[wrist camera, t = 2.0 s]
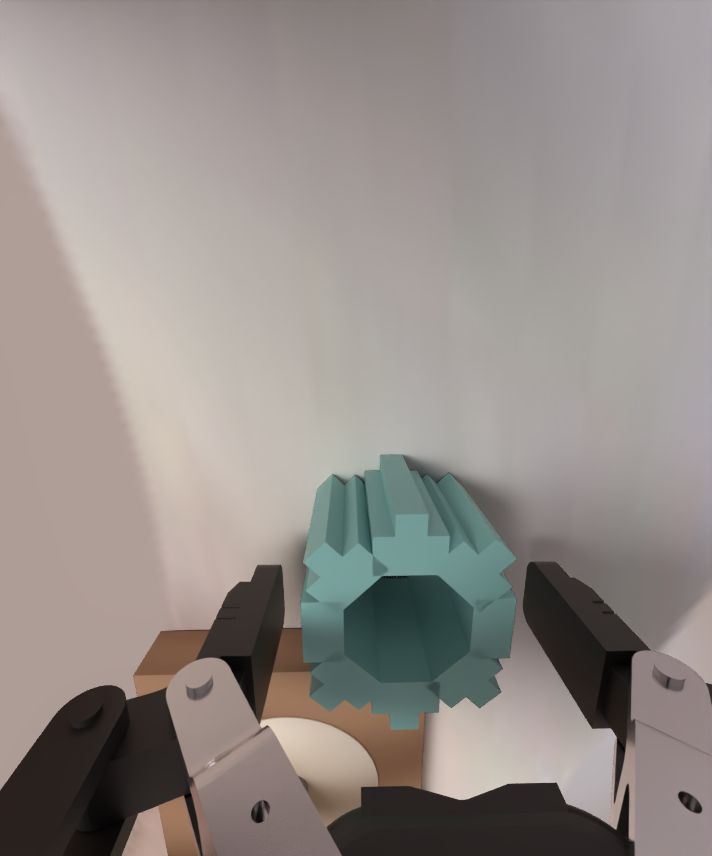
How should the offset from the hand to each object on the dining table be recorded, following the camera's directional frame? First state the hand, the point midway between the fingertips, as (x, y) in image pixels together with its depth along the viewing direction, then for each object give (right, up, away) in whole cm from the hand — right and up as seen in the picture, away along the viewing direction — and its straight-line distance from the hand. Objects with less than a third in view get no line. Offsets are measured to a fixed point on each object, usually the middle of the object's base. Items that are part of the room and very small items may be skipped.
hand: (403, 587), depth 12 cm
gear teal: (0, +1, +2) cm, 2 cm away
